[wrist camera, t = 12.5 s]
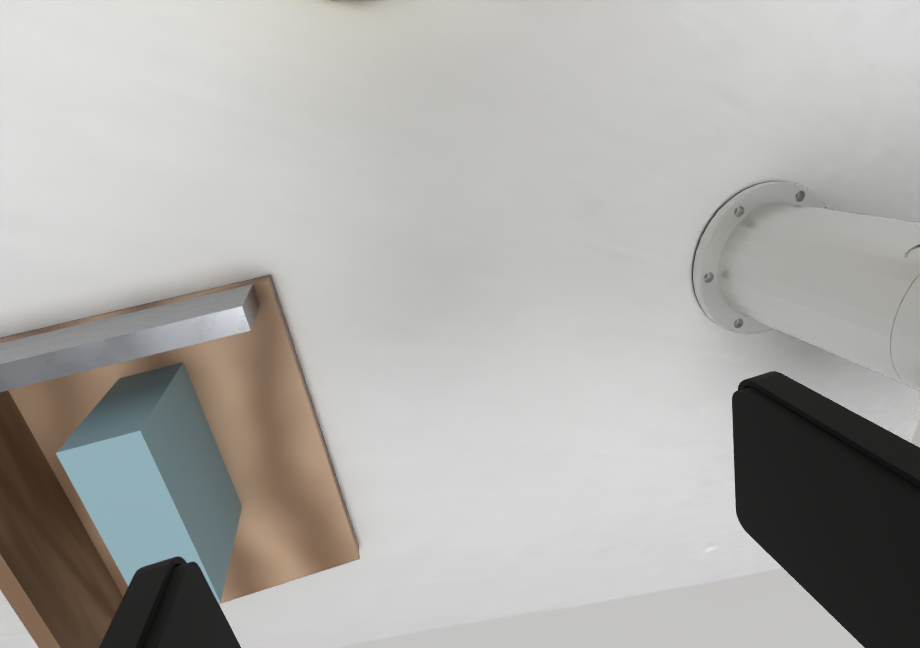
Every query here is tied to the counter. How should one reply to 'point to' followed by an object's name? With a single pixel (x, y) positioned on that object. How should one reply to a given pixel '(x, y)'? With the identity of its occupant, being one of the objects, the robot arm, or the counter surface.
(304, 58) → the counter surface
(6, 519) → the shelf
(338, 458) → the counter surface
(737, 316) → the robot arm
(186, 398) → the book
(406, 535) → the counter surface
